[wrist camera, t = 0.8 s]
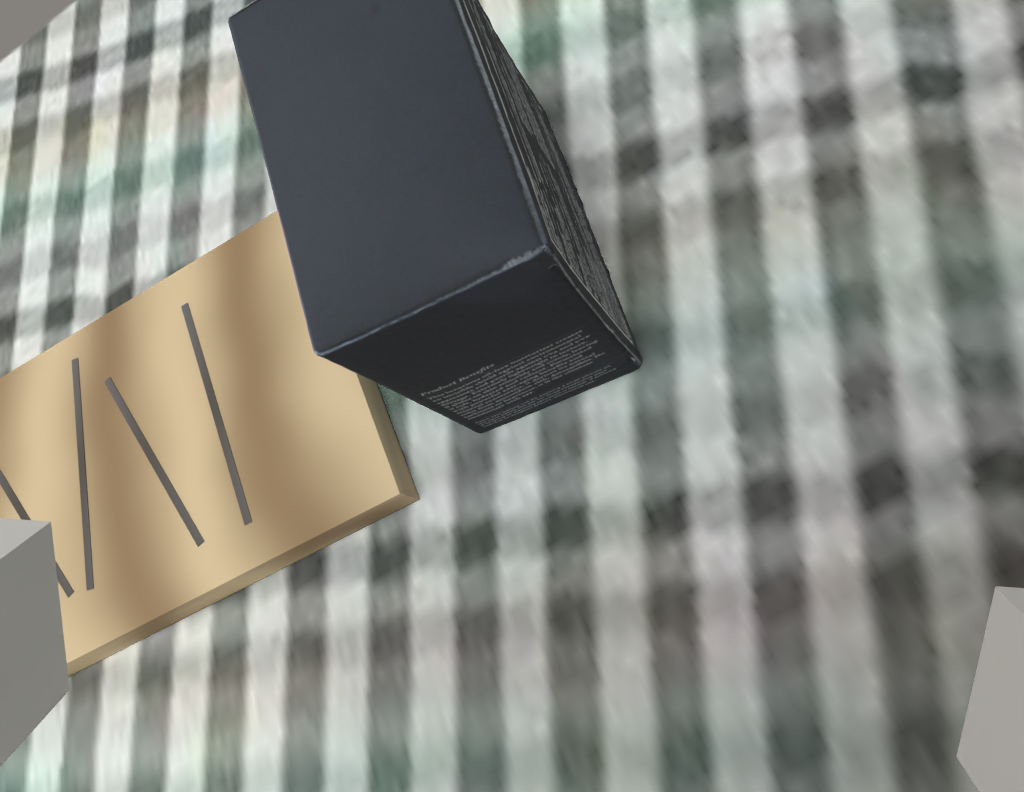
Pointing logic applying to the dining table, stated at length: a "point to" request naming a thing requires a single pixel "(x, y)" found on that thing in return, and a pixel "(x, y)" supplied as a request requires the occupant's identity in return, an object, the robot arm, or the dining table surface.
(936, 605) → the dining table surface
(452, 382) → the small box
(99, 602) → the oak board
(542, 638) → the dining table surface
